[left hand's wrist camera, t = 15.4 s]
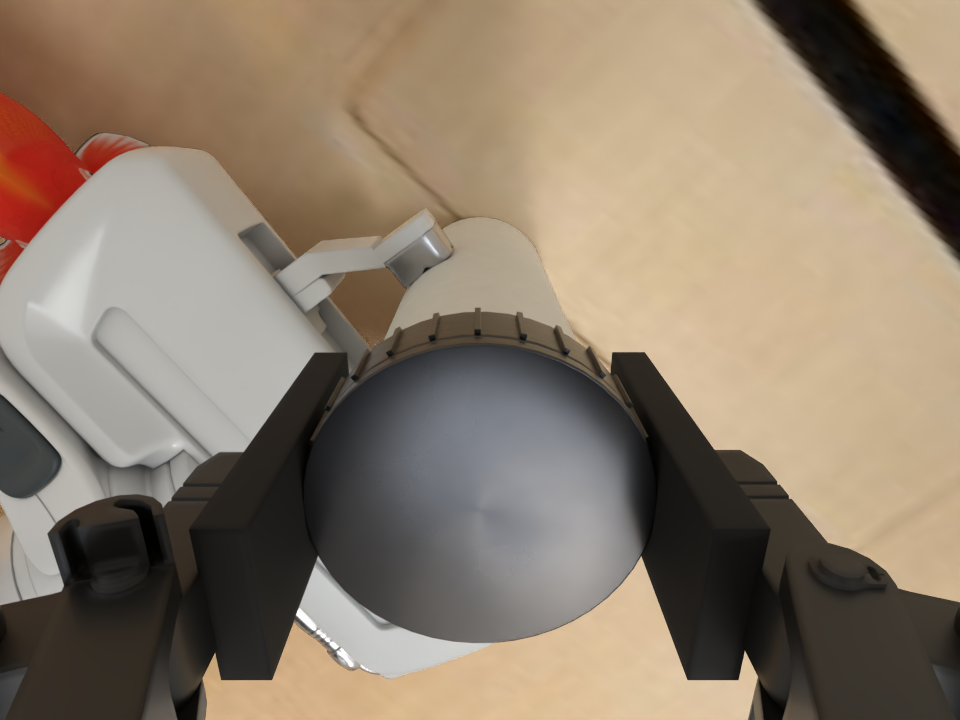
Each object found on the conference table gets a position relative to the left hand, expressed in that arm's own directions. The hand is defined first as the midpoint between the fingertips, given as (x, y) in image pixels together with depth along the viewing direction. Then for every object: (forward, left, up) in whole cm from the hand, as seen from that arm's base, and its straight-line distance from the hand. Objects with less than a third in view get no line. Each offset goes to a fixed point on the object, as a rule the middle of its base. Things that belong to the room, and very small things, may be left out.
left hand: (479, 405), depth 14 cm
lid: (0, 0, +4) cm, 4 cm away
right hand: (-1, 0, -5) cm, 5 cm away
